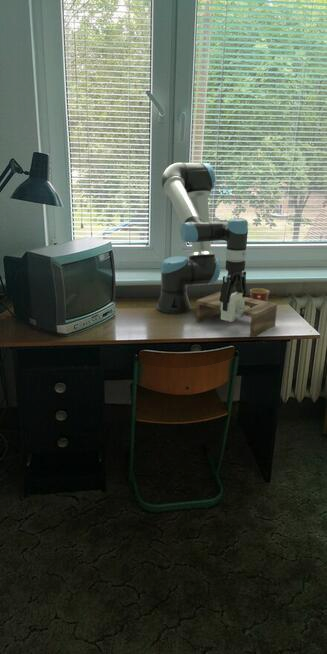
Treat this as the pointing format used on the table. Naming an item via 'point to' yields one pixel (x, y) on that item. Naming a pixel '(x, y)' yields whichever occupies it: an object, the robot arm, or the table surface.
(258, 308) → the shelf
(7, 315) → the table surface
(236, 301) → the white plastic block
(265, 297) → the mug
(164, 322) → the table surface
